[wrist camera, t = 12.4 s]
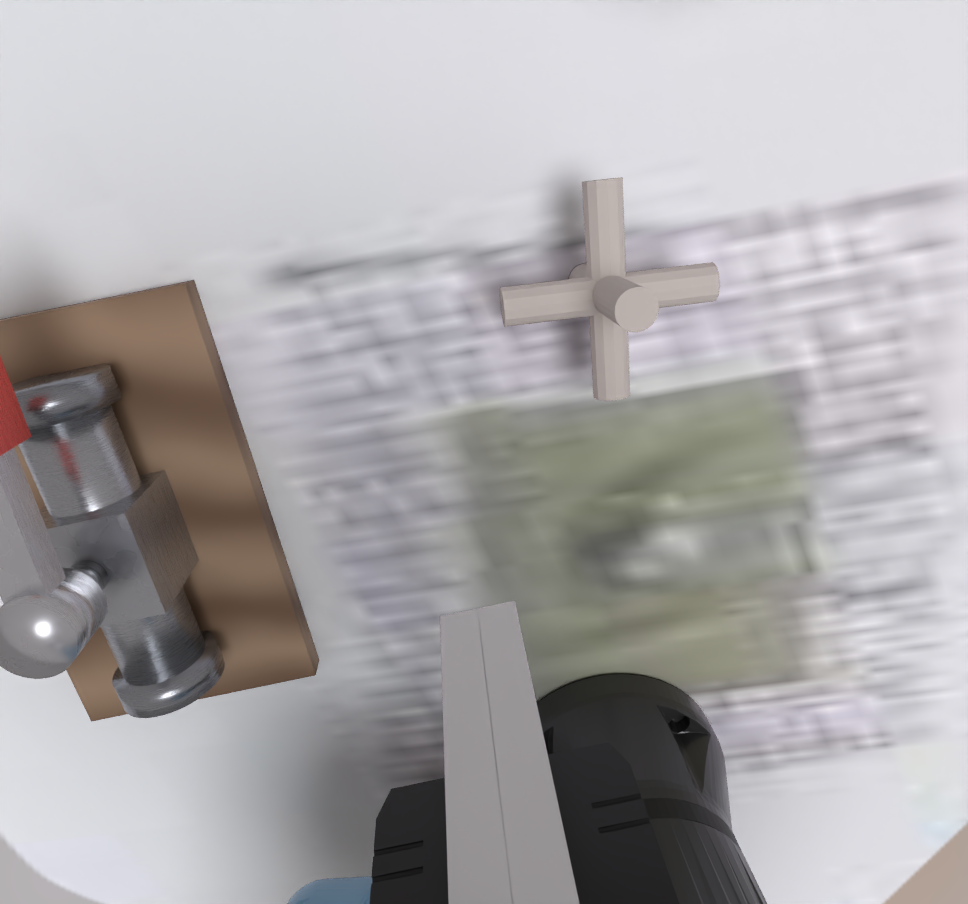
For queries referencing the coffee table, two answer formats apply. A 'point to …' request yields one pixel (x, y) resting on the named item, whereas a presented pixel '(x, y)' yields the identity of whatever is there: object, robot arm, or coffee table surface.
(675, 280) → the pipe connector
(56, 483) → the valve body
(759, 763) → the coffee table surface
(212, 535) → the walnut board
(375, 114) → the coffee table surface
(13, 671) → the valve handle
